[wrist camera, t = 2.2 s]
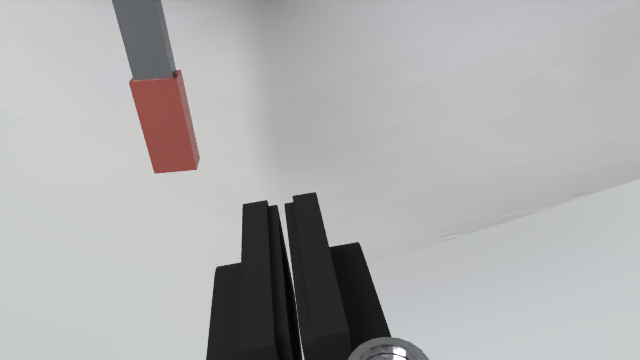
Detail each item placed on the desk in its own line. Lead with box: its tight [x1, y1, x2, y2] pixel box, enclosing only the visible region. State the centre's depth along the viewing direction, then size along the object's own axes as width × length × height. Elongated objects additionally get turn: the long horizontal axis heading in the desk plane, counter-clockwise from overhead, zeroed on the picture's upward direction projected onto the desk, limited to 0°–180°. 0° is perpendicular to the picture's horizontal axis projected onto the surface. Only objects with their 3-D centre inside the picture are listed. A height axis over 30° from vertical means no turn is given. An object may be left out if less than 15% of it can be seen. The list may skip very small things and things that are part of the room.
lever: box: [112, 0, 200, 173], centre depth 20 cm, size 16×3×1 cm, turn 2°
